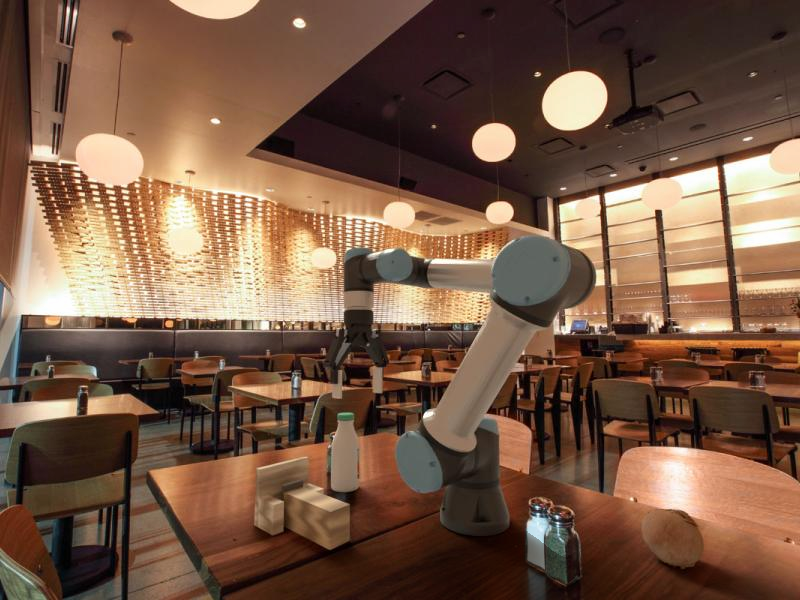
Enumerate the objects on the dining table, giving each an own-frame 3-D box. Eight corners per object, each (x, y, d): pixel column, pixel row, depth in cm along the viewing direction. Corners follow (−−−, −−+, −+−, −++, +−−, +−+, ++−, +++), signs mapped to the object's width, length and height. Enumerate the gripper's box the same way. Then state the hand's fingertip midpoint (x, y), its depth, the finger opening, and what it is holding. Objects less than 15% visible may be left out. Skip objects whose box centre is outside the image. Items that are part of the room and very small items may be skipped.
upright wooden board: (323, 516, 96) (324, 462, 97) (272, 535, 86) (274, 475, 87) (304, 507, 100) (305, 456, 102) (254, 525, 91) (255, 468, 92)
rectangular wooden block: (349, 540, 84) (349, 497, 84) (329, 550, 80) (330, 504, 81) (300, 517, 95) (301, 479, 96) (281, 525, 91) (282, 485, 92)
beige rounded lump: (693, 578, 75) (717, 527, 75) (684, 584, 69) (710, 529, 69) (639, 541, 82) (660, 494, 82) (626, 544, 76) (649, 493, 76)
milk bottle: (354, 494, 109) (354, 416, 111) (326, 492, 111) (327, 415, 113) (362, 484, 117) (363, 411, 119) (336, 482, 118) (337, 410, 121)
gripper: (382, 312, 117) (382, 389, 114) (308, 307, 98) (307, 399, 96) (402, 311, 112) (402, 391, 109) (329, 305, 93) (328, 402, 91)
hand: (358, 395), depth 103 cm, fingers open, 13 cm apart
